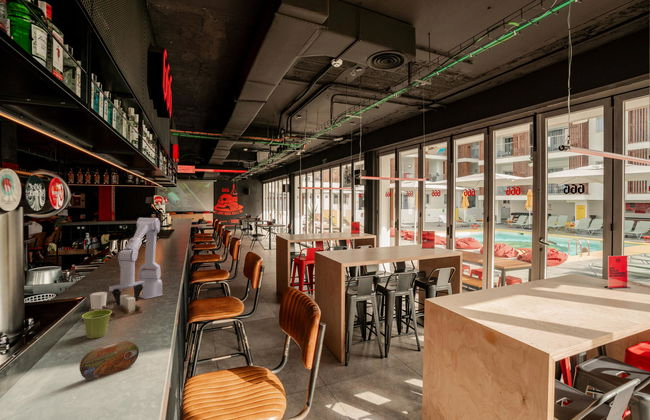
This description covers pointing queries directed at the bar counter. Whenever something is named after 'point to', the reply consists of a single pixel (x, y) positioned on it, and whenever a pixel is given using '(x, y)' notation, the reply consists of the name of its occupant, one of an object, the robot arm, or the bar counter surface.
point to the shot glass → (98, 300)
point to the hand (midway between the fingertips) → (127, 302)
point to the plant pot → (96, 323)
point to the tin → (108, 360)
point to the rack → (120, 311)
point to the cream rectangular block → (128, 302)
